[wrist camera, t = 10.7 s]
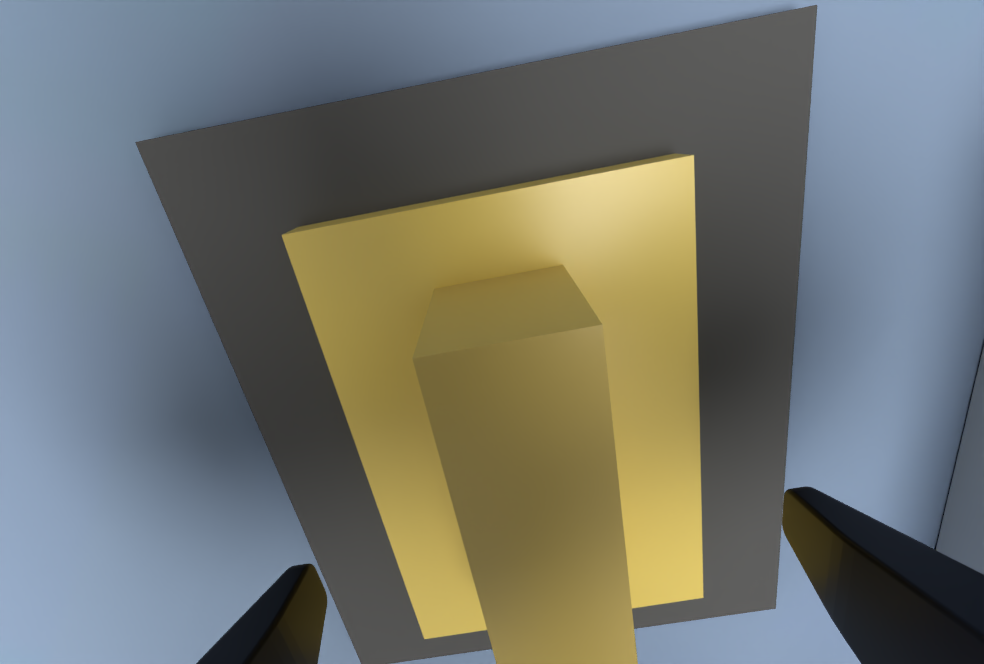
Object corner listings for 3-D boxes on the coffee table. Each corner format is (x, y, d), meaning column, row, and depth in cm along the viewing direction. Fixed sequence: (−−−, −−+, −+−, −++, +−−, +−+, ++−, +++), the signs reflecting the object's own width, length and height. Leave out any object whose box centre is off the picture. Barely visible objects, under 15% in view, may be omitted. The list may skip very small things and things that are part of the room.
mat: (366, 649, 17) (362, 667, 16) (153, 141, 10) (134, 142, 10) (765, 592, 16) (775, 608, 16) (798, 12, 10) (817, 4, 9)
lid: (428, 608, 15) (407, 785, 11) (299, 226, 11) (181, 283, 6) (689, 569, 15) (770, 737, 11) (675, 153, 10) (808, 163, 6)
